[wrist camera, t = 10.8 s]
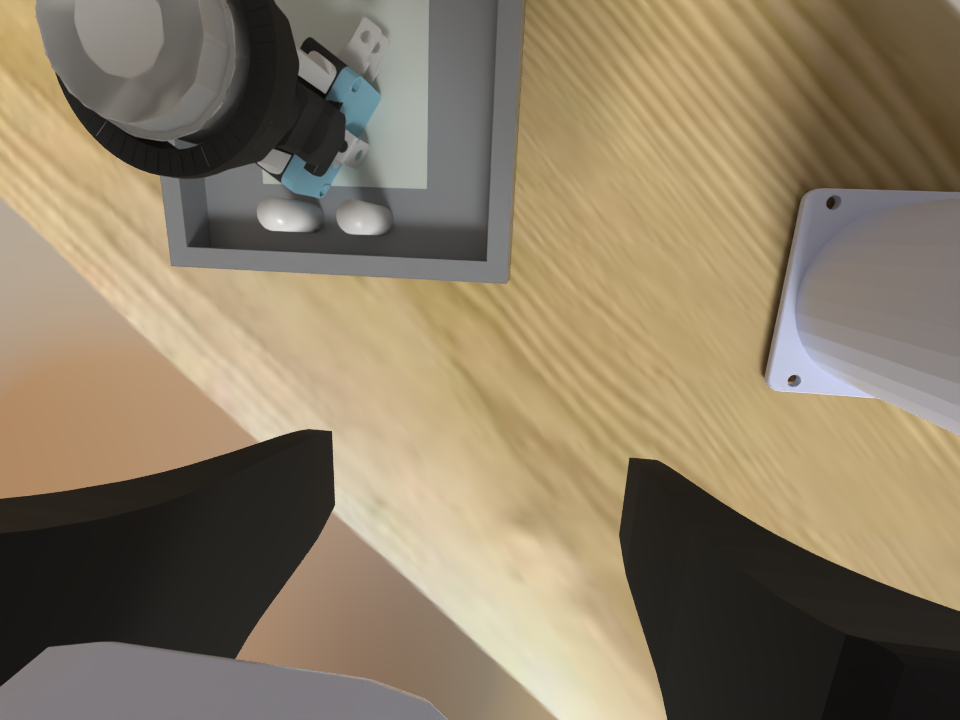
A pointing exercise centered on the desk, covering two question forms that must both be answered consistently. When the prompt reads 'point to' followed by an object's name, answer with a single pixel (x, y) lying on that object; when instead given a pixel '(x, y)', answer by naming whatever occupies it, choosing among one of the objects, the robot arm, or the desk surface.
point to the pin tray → (384, 158)
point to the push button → (213, 87)
